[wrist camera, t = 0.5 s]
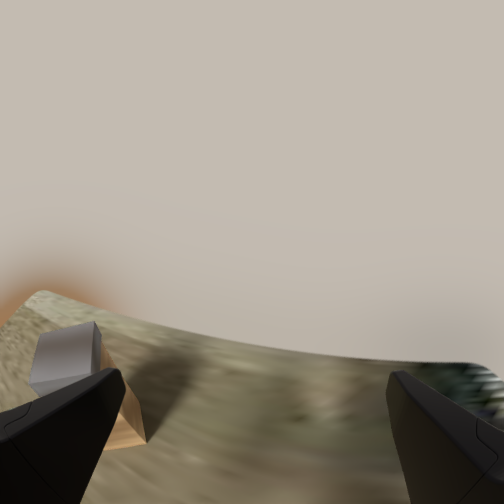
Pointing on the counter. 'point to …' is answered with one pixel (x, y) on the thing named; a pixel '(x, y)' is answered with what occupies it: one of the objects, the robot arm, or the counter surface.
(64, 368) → the grey cushioned footstool
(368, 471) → the counter surface
